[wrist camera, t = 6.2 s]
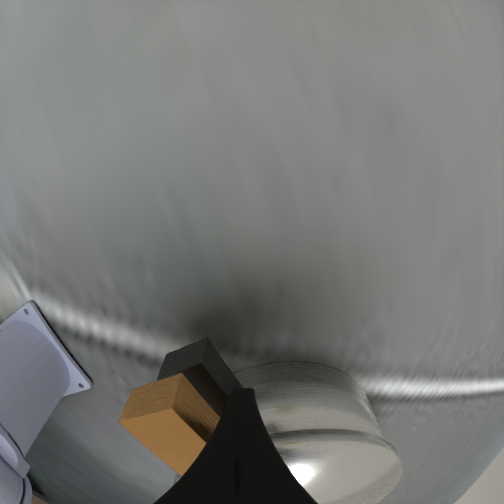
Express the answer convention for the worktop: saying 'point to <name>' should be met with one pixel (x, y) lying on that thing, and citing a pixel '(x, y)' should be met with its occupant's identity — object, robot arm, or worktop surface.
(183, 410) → the lid
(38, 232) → the worktop surface
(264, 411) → the cooker pot
